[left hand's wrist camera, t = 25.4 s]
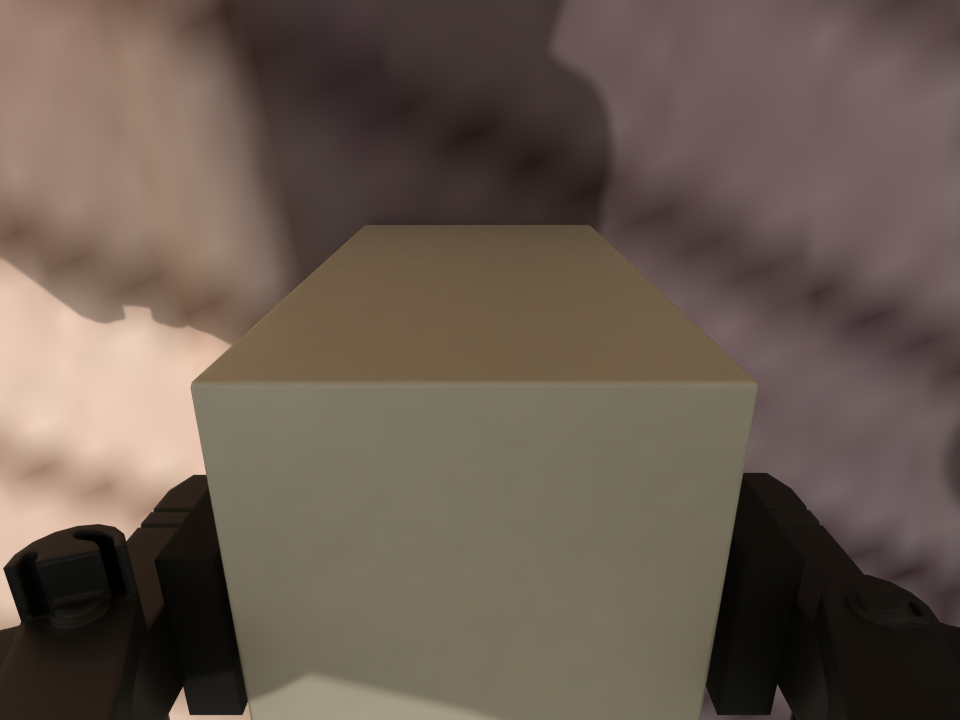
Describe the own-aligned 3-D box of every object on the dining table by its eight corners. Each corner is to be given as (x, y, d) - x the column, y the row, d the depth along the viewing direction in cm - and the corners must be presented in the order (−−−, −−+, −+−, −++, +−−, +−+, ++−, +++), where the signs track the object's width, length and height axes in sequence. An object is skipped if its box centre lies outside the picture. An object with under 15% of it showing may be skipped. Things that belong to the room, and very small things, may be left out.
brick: (591, 224, 16) (761, 382, 6) (574, 480, 19) (676, 863, 9) (363, 224, 16) (186, 382, 6) (381, 480, 19) (275, 863, 9)
